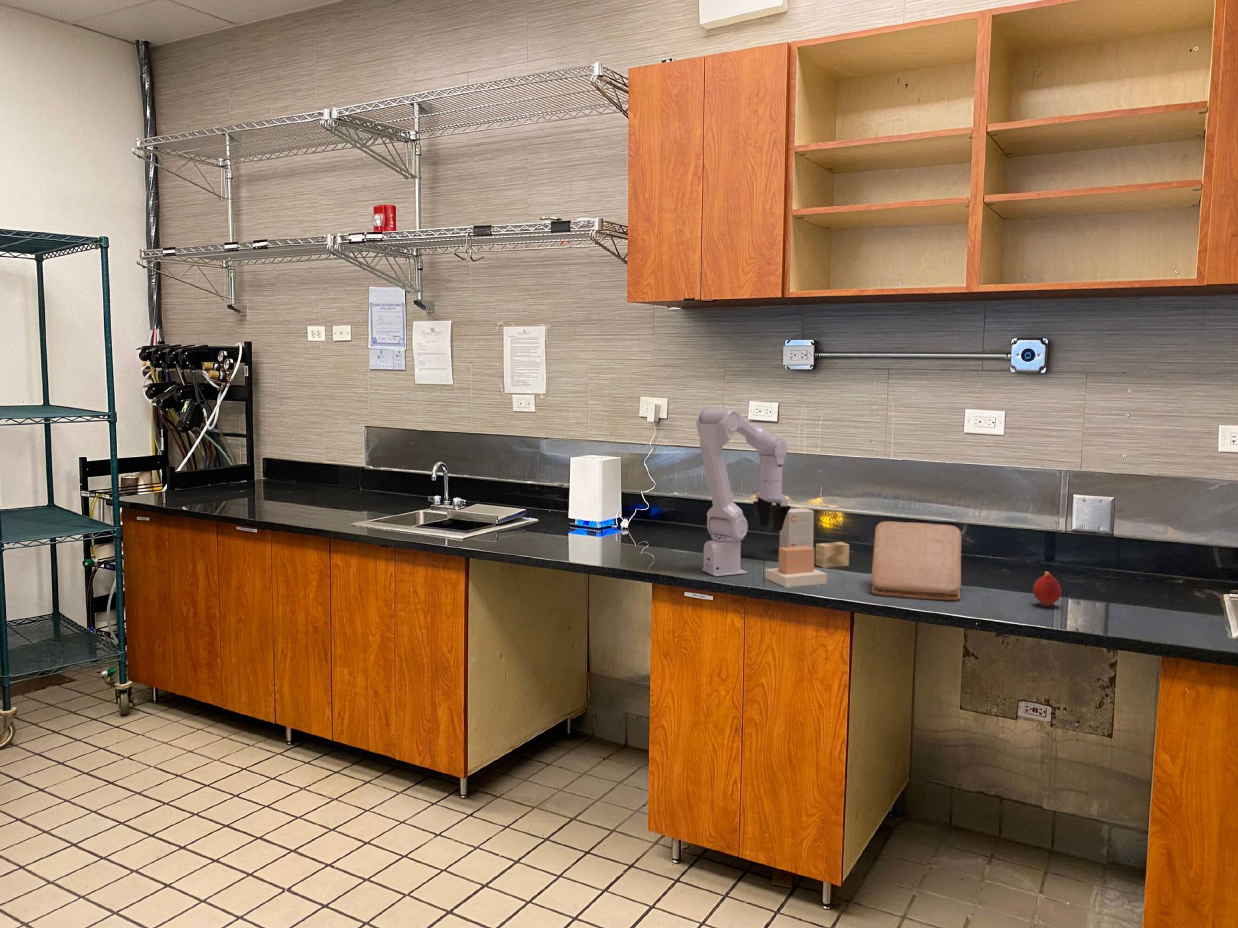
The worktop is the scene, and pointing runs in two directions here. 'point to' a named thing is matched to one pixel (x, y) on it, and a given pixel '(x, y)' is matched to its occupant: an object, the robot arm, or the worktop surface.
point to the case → (917, 561)
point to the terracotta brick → (796, 560)
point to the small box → (797, 528)
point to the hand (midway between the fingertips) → (771, 528)
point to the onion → (1047, 589)
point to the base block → (796, 578)
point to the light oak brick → (832, 554)
